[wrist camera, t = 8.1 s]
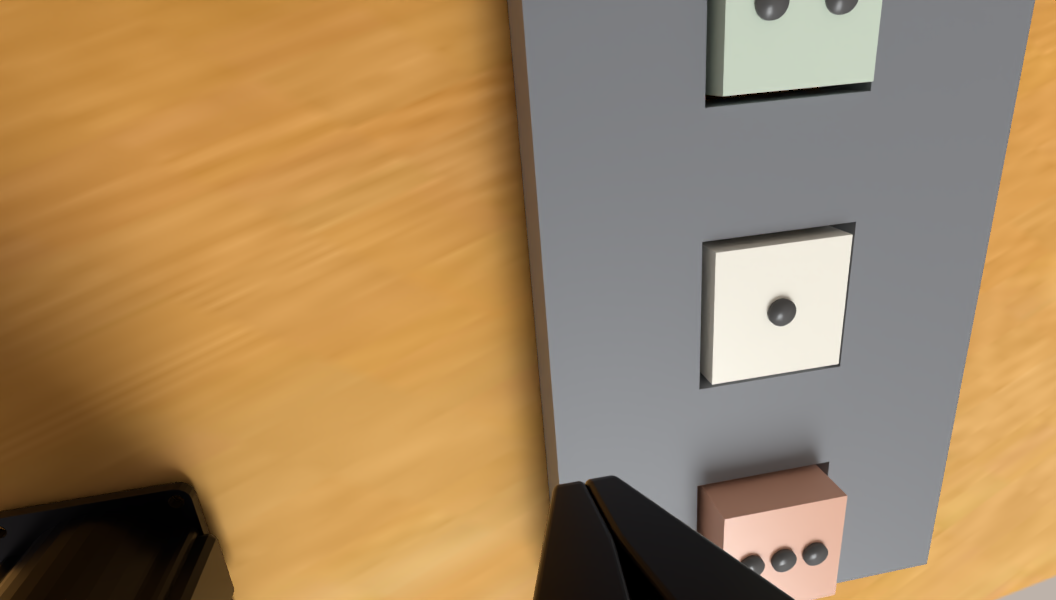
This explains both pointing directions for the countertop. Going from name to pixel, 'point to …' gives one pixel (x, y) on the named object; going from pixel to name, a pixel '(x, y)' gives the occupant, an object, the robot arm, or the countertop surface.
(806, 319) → the one-dot button
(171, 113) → the countertop surface
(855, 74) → the two-dot button
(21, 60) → the countertop surface
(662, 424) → the button board
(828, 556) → the three-dot button
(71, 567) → the robot arm
